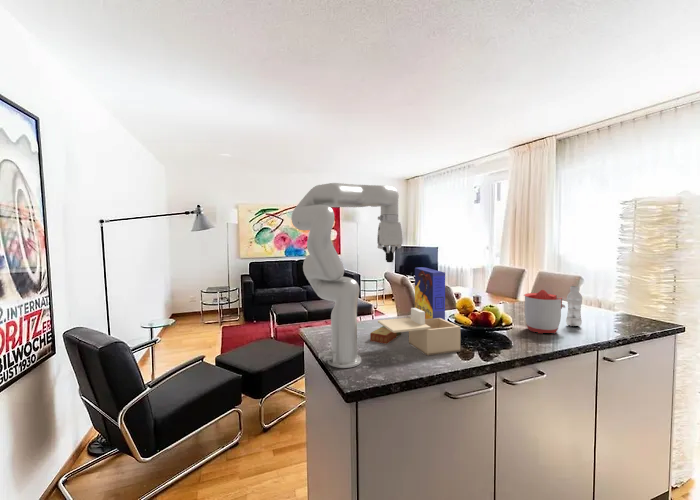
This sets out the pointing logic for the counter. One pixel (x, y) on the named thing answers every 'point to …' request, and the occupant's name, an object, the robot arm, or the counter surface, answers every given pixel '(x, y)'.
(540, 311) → the citrus juicer
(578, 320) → the plastic bottle
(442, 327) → the cardboard box
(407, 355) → the counter surface
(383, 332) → the carton
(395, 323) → the box lid
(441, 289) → the cereal box
